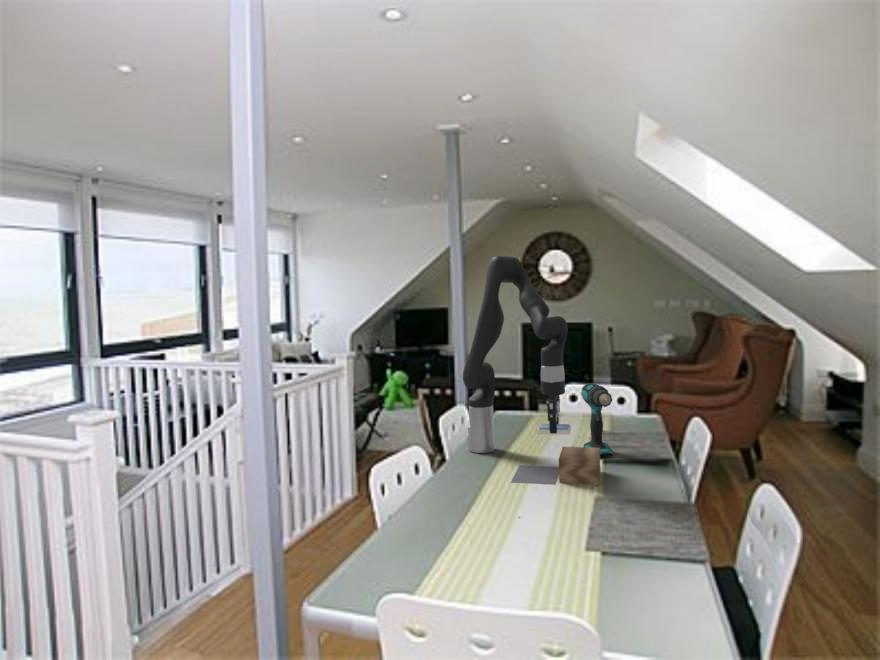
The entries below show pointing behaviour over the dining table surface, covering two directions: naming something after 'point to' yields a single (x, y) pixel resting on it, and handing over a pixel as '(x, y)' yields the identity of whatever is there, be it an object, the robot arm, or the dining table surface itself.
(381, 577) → the dining table surface
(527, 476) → the mat
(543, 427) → the card box
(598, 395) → the power drill
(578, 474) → the walnut block
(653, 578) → the dining table surface
